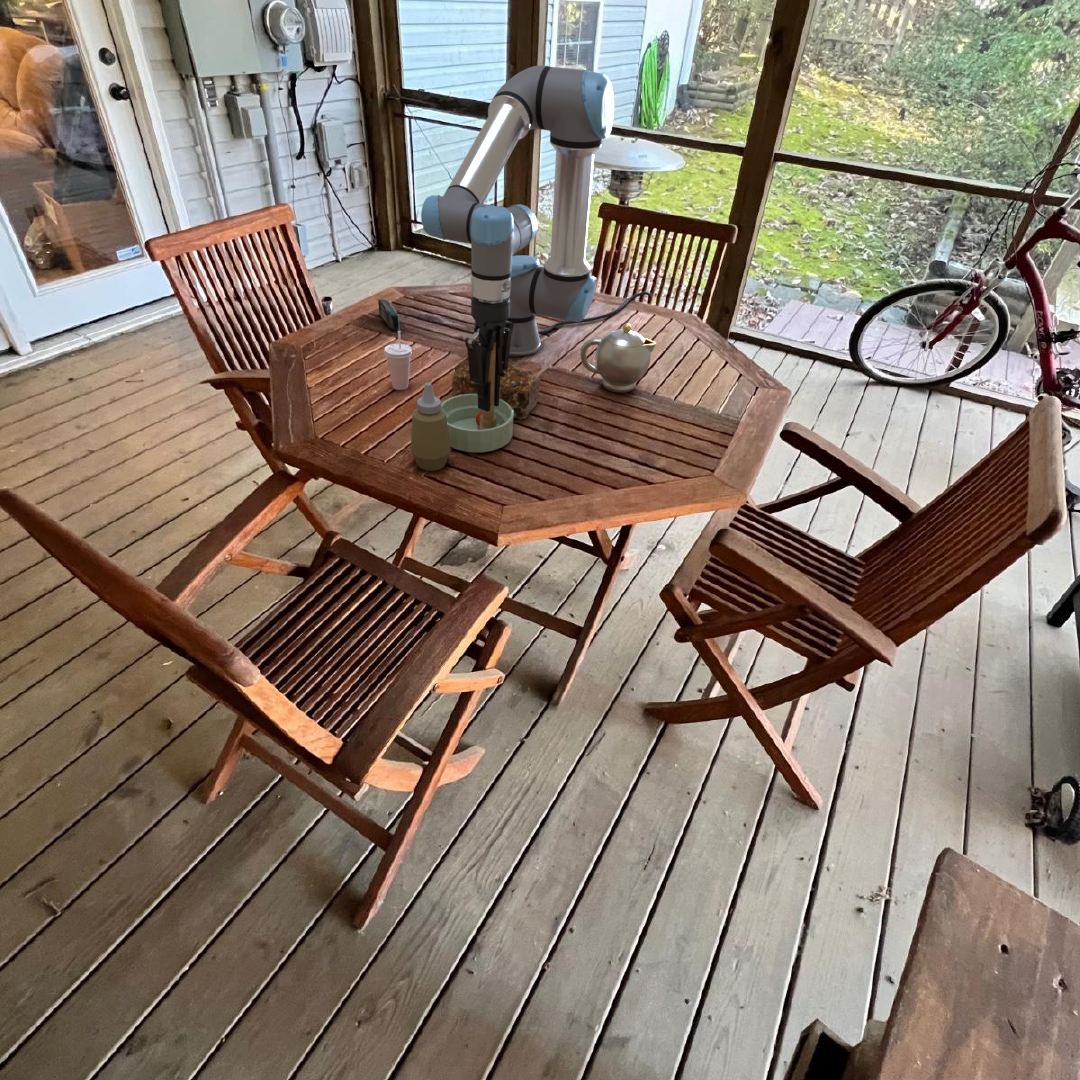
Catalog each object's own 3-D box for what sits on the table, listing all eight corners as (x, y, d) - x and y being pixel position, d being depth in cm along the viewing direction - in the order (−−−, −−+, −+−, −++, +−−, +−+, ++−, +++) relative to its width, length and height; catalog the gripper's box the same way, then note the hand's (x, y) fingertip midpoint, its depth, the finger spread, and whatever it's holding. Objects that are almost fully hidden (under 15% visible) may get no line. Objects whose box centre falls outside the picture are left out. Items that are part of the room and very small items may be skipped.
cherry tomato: (482, 422, 155) (482, 407, 153) (495, 426, 153) (495, 411, 151) (472, 427, 153) (472, 412, 151) (485, 431, 151) (485, 416, 149)
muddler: (486, 422, 151) (488, 336, 139) (499, 428, 150) (502, 341, 137) (476, 429, 149) (477, 341, 136) (489, 435, 148) (491, 346, 135)
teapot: (648, 378, 179) (660, 317, 169) (645, 402, 169) (657, 339, 158) (581, 369, 181) (587, 307, 171) (573, 392, 171) (580, 328, 160)
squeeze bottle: (412, 452, 144) (408, 374, 133) (451, 453, 145) (450, 374, 134) (410, 474, 138) (405, 393, 127) (450, 474, 139) (449, 394, 128)
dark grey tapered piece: (376, 298, 196) (392, 316, 186) (386, 297, 198) (403, 315, 187) (377, 315, 200) (393, 334, 189) (387, 314, 201) (404, 333, 190)
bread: (450, 406, 161) (450, 366, 155) (469, 387, 169) (469, 348, 163) (525, 423, 157) (527, 383, 151) (540, 403, 165) (543, 364, 159)
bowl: (469, 410, 160) (470, 386, 156) (526, 433, 154) (528, 409, 150) (423, 437, 149) (421, 413, 146) (481, 464, 143) (482, 439, 139)
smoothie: (408, 394, 164) (405, 338, 155) (382, 390, 165) (378, 334, 156) (417, 382, 169) (414, 327, 160) (392, 378, 169) (388, 323, 161)
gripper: (481, 313, 125) (479, 426, 140) (529, 291, 135) (523, 399, 150) (449, 302, 128) (451, 414, 143) (499, 281, 138) (496, 388, 153)
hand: (488, 406), depth 146 cm, fingers closed on muddler, 2 cm apart
